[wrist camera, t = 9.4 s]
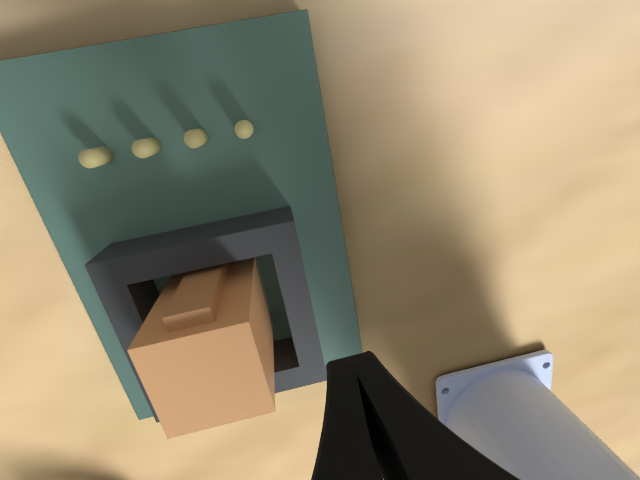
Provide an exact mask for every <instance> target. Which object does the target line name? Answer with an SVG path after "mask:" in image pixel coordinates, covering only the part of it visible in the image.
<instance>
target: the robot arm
mask: <svg viewBox="0 0 640 480" xmlns="http://www.w3.org/2000/svg"><path fill="white" fill-rule="evenodd" d="M552 367H553V354H552V353H551V352H549V351H548V350H541V351H537V352H533V353H529V354H525V355H521V356H517V357H513V358H509V359H505V360H501V361H497V362H493V363H489V364H485V365H481V366H477V367H473V368H469V369H465V370H461V371H457V372H453V373H449V374H445V375H442V376H439V377H438V378H437V380H436V383H435V385H436V398H437V412H438V419H437V418H436V417H435V416H434V415H432V414H431V413H430V412H429V411H428V410H427V409H426V408H425V407H424V406H422V405H421V404H420V403H419V402H418V401H417V400H416V399H415V398H414V397H413V396H412V395H411V394H410V393H409V392H408V391H407V390H406V389H405V388H404V387H403V386H402V385H401V384H400V383H399V382H398V381H397V380H396V379H395V378H394V377H393V376H392V375H391V374H390V373H389V372H388V370H387V369H386V368H385V367H384V366H383V365H382V363H381V362H380V361H379V360H378V359H377V357H376V356H375V355H374V353H372V352H370V351H367V352H364V353H360V354H356V355H352V356H348V357H344V358H340V359H336V360H332V361H329V362H328V363H327V365H326V371H327V393H326V404H325V412H324V420H323V427H322V432H321V438H320V443H319V448H318V453H317V458H316V462H315V466H314V471H313V475H312V479H311V480H383V479H384V480H640V477H639V476H638V475H637V474H636V473H635V472H634V471H633V470H631V469H630V468H629V467H628V466H627V465H626V464H625V463H624V462H623V461H622V460H621V459H620V458H619V457H618V456H617V455H616V454H615V453H614V452H613V451H612V450H611V449H610V448H609V447H608V446H607V445H606V444H605V443H604V442H603V441H602V440H601V439H600V438H599V437H598V436H597V435H596V434H594V433H593V432H592V431H591V430H590V429H589V428H588V427H587V426H586V425H585V424H584V423H583V422H582V421H581V420H580V419H579V418H578V417H577V416H576V415H575V414H574V413H573V412H572V411H571V410H570V409H569V408H568V407H567V406H566V405H565V404H564V403H563V402H562V401H561V400H560V399H558V398H557V397H556V396H555V395H554V394H553V393H552V392H551V380H552ZM444 388H445V389H444ZM443 389H444V390H443ZM382 476H383V477H382Z"/></svg>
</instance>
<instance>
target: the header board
mask: <svg viewBox="0 0 640 480" xmlns="http://www.w3.org/2000/svg"><path fill="white" fill-rule="evenodd" d="M0 132H1V134H2V137H3V139H4V141H5V143H6V145H7V147H8V149H9V151H10V153H11V155H12V157H13V159H14V161H15V164H16V166H17V168H18V170H19V172H20V174H21V176H22V178H23V180H24V182H25V184H26V186H27V188H28V191H29V193H30V195H31V197H32V199H33V201H34V203H35V205H36V207H37V209H38V211H39V213H40V215H41V218H42V220H43V222H44V224H45V226H46V228H47V230H48V232H49V234H50V236H51V238H52V240H53V242H54V245H55V247H56V249H57V251H58V253H59V255H60V257H61V259H62V261H63V263H64V265H65V267H66V269H67V272H68V274H69V276H70V278H71V280H72V282H73V284H74V286H75V288H76V290H77V292H78V294H79V296H80V299H81V301H82V303H83V305H84V307H85V309H86V311H87V313H88V315H89V317H90V319H91V321H92V324H93V326H94V328H95V330H96V332H97V334H98V336H99V338H100V340H101V342H102V344H103V346H104V348H105V351H106V353H107V355H108V357H109V359H110V361H111V363H112V365H113V367H114V369H115V371H116V373H117V375H118V378H119V380H120V382H121V384H122V386H123V388H124V390H125V392H126V394H127V396H128V398H129V400H130V402H131V405H132V407H133V409H134V411H135V413H136V415H137V417H138V419H139V420H141V419H145V418H149V417H153V416H154V418H155V420H156V422H160V421H159V419H158V416H157V414H156V412H155V410H154V408H153V406H152V403H151V401H150V399H149V397H148V395H147V393H146V390H145V388H144V386H143V384H142V382H141V379H140V377H139V375H138V373H137V371H136V369H135V366H134V364H133V362H132V360H131V358H130V356H129V353H128V351H127V350H128V348H129V346H130V345H131V343H132V341H133V339H134V338H135V336H136V334H137V333H138V331H139V329H140V328H141V326H142V324H143V323H144V321H145V319H146V317H147V316H148V314H149V312H150V311H151V309H152V307H153V306H154V304H155V302H156V301H157V299H158V297H159V295H160V294H161V292H162V290H163V289H164V287H165V285H166V284H167V282H168V280H169V278H170V277H171V275H175V274H180V273H184V272H189V271H193V270H198V269H203V268H207V267H212V266H216V265H221V264H226V263H230V262H235V261H239V260H244V259H249V258H253V257H255V259H256V262H257V266H258V270H259V274H260V277H261V281H262V285H263V288H264V292H265V296H266V300H267V303H268V307H269V311H270V315H271V318H272V322H273V349H274V382H275V393H278V392H282V391H286V390H290V389H294V388H298V387H302V386H306V385H310V384H314V383H318V382H322V381H326V380H327V371H326V365H327V363H328V362H329V361H332V360H336V359H340V358H344V357H348V356H352V355H356V354H360V353H363V352H362V346H361V340H360V334H359V328H358V321H357V315H356V309H355V303H354V297H353V290H352V284H351V278H350V272H349V266H348V259H347V253H346V247H345V241H344V235H343V228H342V222H341V216H340V210H339V204H338V197H337V191H336V185H335V179H334V173H333V166H332V160H331V154H330V148H329V142H328V135H327V129H326V123H325V117H324V111H323V104H322V98H321V92H320V86H319V80H318V73H317V67H316V61H315V55H314V49H313V42H312V36H311V30H310V24H309V18H308V11H307V9H306V10H300V11H294V12H288V13H282V14H276V15H270V16H264V17H258V18H252V19H246V20H240V21H234V22H228V23H222V24H216V25H210V26H204V27H198V28H192V29H186V30H180V31H174V32H168V33H162V34H156V35H150V36H144V37H138V38H132V39H126V40H120V41H114V42H109V43H103V44H97V45H91V46H85V47H79V48H73V49H67V50H61V51H55V52H49V53H43V54H37V55H31V56H25V57H19V58H13V59H7V60H1V61H0Z"/></svg>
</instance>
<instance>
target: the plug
mask: <svg viewBox="0 0 640 480" xmlns="http://www.w3.org/2000/svg"><path fill="white" fill-rule="evenodd" d="M127 351H128V353H129V356H130V358H131V360H132V362H133V364H134V366H135V369H136V371H137V373H138V375H139V377H140V379H141V382H142V384H143V386H144V388H145V390H146V393H147V395H148V397H149V399H150V401H151V403H152V406H153V408H154V410H155V412H156V414H157V416H158V419H159V421H160V423H161V425H162V427H163V430H164V432H165V434H166V436H167V438H168V439H169V438H173V437H176V436H180V435H184V434H188V433H192V432H196V431H200V430H204V429H208V428H212V427H216V426H220V425H224V424H228V423H232V422H236V421H239V420H243V419H247V418H251V417H255V416H259V415H263V414H267V413H271V412H275V382H274V349H273V322H272V318H271V315H270V311H269V307H268V303H267V300H266V296H265V292H264V288H263V285H262V281H261V277H260V274H259V270H258V266H257V262H256V259H255V257H253V258H249V259H244V260H239V261H235V262H230V263H226V264H221V265H216V266H212V267H207V268H203V269H198V270H193V271H189V272H184V273H180V274H175V275H171V277H170V278H169V280H168V282H167V284H166V285H165V287H164V289H163V290H162V292H161V294H160V295H159V297H158V299H157V301H156V302H155V304H154V306H153V307H152V309H151V311H150V312H149V314H148V316H147V317H146V319H145V321H144V323H143V324H142V326H141V328H140V329H139V331H138V333H137V334H136V336H135V338H134V339H133V341H132V343H131V345H130V346H129V348H128V350H127Z"/></svg>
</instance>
